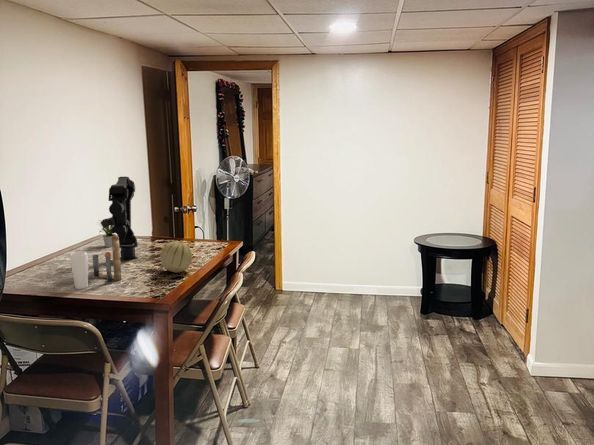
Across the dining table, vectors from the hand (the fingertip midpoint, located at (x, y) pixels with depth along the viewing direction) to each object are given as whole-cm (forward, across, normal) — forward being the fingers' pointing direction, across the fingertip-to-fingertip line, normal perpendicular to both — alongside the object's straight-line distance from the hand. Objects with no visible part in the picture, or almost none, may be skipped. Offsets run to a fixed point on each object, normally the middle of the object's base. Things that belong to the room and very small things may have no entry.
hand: (121, 243), depth 249 cm
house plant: (+12, -47, -13) cm, 51 cm away
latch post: (+12, +22, -3) cm, 25 cm away
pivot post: (+12, +12, -10) cm, 20 cm away
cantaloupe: (+12, +11, +25) cm, 30 cm away
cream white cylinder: (+12, +27, -14) cm, 33 cm away
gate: (+12, +16, -4) cm, 20 cm away
